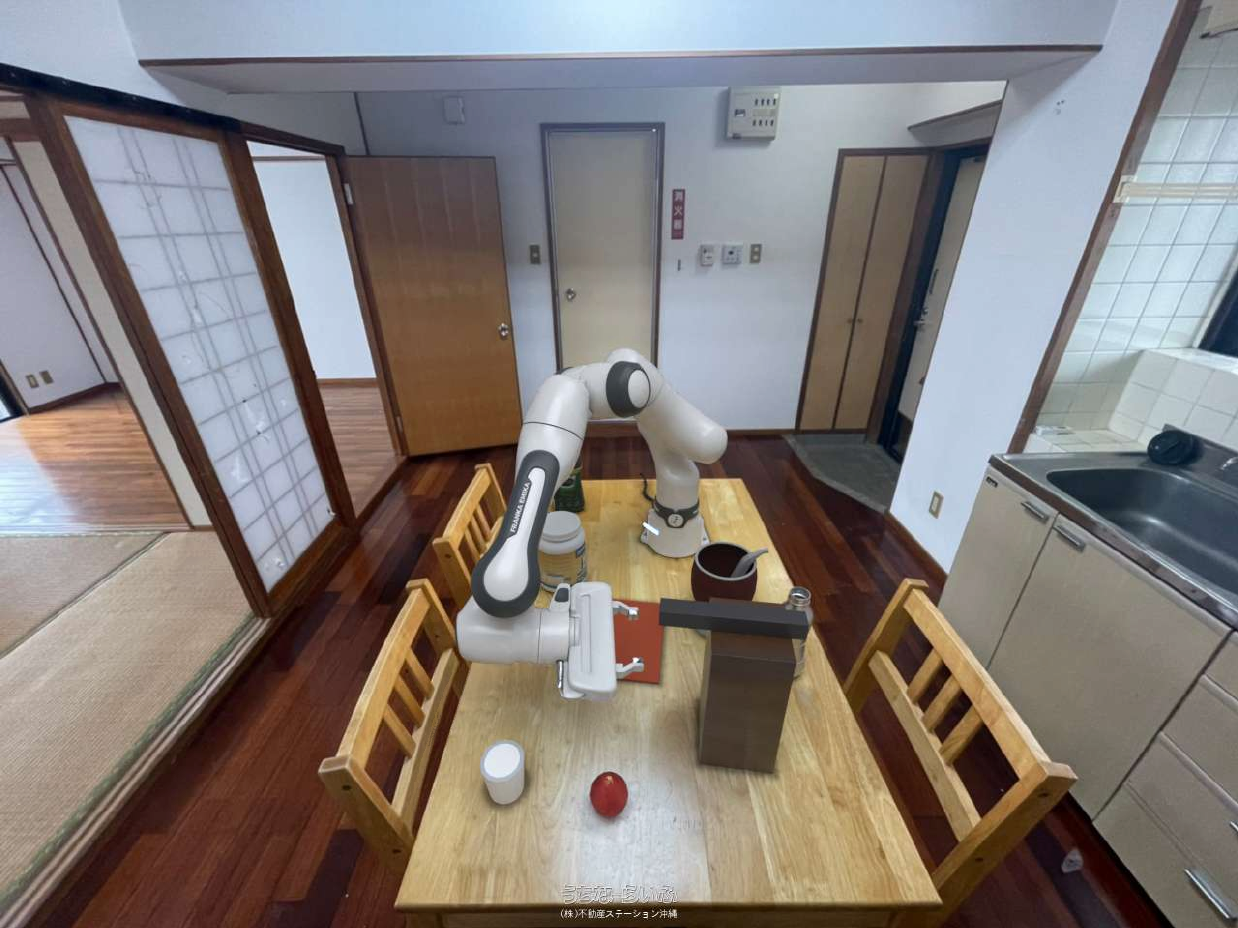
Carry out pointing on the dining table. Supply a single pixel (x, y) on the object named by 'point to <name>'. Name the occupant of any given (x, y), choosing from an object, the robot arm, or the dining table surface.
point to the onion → (608, 794)
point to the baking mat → (639, 640)
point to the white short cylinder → (503, 771)
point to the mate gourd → (724, 573)
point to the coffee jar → (570, 492)
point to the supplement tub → (562, 551)
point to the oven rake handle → (733, 618)
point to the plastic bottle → (800, 602)
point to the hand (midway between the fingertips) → (640, 638)
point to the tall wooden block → (744, 696)
